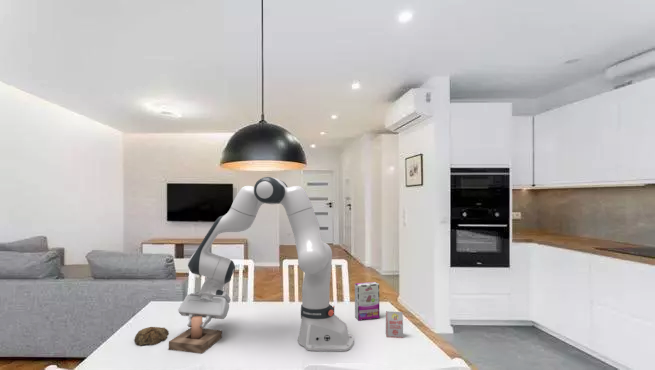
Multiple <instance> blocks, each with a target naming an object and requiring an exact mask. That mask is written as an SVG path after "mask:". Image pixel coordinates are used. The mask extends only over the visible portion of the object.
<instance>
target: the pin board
mask: <svg viewBox="0 0 655 370" xmlns="http://www.w3.org/2000/svg"><path fill="white" fill-rule="evenodd" d="M222 338H223V330H222V329H210V328H202V338H200V339H199V340H198V339H191V327H189V328H188V329H186V330H184V331H183V332H182V333H180V334H179V335H177V336H176V337H173V338H172V339H170V340H169V341H168V351H178V352H186V353H195V354H203V353H204V352H206V351H208V349H210V348H212V346H213V345H214V344H216V343H217V342H219V341H220V340H221V339H222Z"/></svg>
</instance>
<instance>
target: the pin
mask: <svg viewBox="0 0 655 370" xmlns="http://www.w3.org/2000/svg"><path fill="white" fill-rule="evenodd" d="M201 322H203V317H202V316H194V317H192V318H191V327H190V328H191V339H198V340H199V339H200V338H202V328H200V325H201Z"/></svg>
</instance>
